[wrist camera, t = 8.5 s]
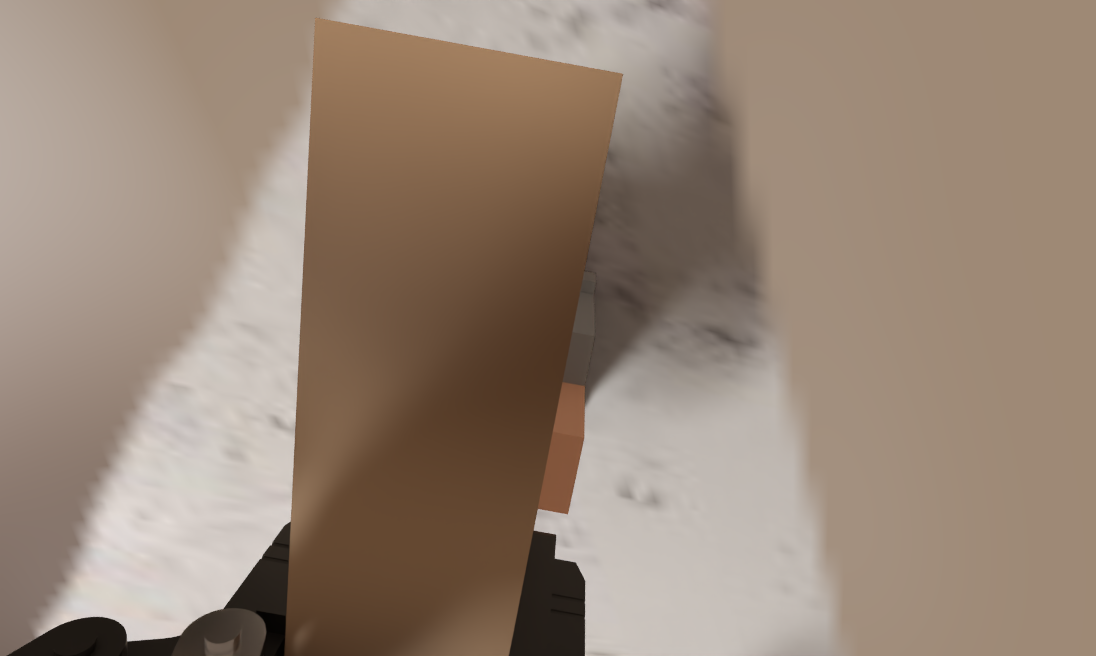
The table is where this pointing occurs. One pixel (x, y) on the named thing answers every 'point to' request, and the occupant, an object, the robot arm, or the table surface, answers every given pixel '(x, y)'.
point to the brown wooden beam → (433, 333)
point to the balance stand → (570, 407)
